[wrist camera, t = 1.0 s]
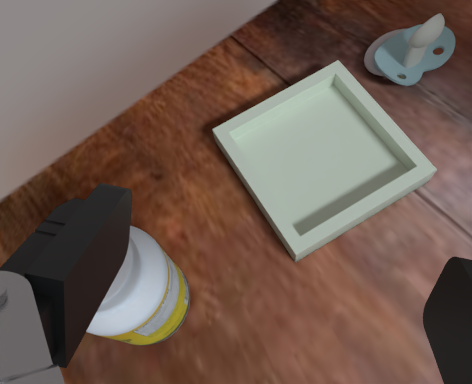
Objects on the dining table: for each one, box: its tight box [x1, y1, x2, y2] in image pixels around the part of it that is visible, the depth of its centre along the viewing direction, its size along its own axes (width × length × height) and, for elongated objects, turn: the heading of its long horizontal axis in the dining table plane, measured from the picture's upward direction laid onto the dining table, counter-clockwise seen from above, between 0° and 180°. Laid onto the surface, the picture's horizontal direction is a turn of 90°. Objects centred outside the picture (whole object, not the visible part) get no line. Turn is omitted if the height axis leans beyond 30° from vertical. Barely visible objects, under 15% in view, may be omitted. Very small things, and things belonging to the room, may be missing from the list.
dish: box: [212, 60, 437, 263], centre depth 35 cm, size 12×12×2 cm
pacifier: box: [364, 13, 455, 86], centre depth 37 cm, size 7×6×6 cm
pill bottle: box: [86, 226, 190, 345], centre depth 28 cm, size 6×6×12 cm
